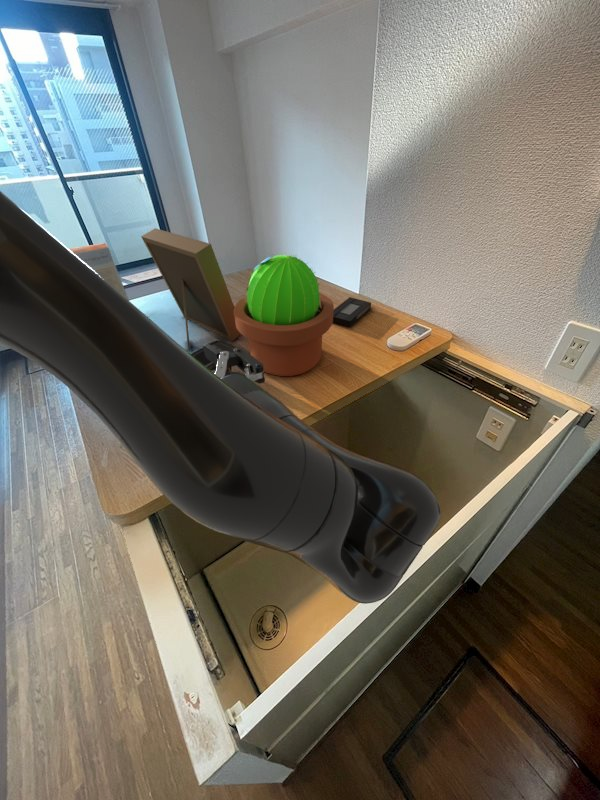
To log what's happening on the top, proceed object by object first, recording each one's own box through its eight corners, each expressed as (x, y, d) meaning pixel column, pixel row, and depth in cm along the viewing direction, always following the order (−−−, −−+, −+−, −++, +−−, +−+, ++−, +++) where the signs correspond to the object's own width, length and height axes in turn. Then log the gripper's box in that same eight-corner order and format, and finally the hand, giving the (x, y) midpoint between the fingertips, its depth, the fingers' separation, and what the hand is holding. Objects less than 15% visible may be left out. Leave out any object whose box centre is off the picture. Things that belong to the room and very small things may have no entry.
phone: (238, 348, 83) (190, 376, 74) (239, 352, 84) (191, 380, 75) (217, 339, 87) (169, 364, 78) (218, 342, 87) (171, 368, 79)
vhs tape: (370, 308, 102) (371, 302, 100) (349, 327, 93) (350, 321, 92) (349, 303, 105) (349, 297, 104) (326, 320, 96) (327, 314, 95)
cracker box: (132, 313, 102) (105, 241, 88) (137, 321, 98) (109, 247, 84) (83, 325, 96) (45, 250, 82) (85, 334, 92) (46, 257, 78)
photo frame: (195, 312, 101) (174, 223, 85) (244, 334, 91) (230, 237, 74) (153, 331, 93) (120, 236, 76) (201, 358, 82) (174, 254, 66)
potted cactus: (345, 349, 84) (354, 246, 68) (298, 395, 71) (296, 281, 54) (277, 327, 94) (270, 232, 77) (224, 364, 80) (202, 258, 63)
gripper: (297, 366, 36) (217, 318, 45) (180, 432, 29) (113, 359, 38) (299, 415, 41) (226, 363, 50) (199, 482, 34) (135, 407, 43)
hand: (178, 361), depth 44 cm, fingers open, 8 cm apart
